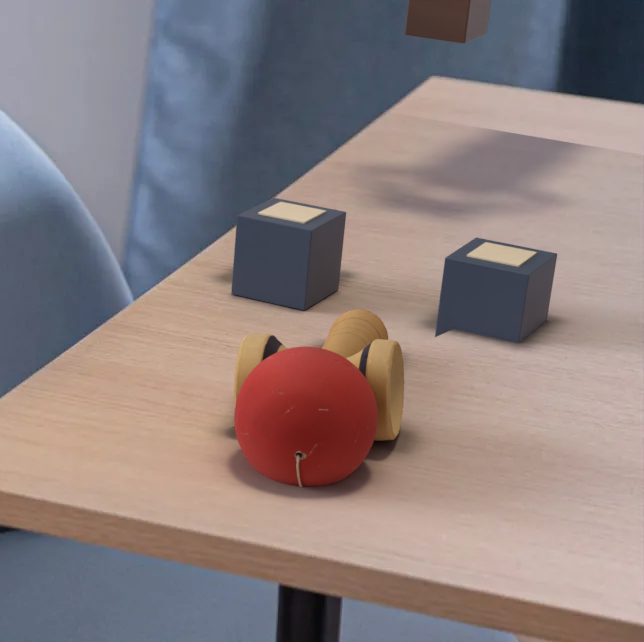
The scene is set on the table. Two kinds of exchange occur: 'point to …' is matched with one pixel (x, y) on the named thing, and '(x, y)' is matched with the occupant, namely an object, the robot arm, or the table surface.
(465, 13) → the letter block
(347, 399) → the kendama
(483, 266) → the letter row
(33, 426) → the table surface
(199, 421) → the table surface
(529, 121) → the table surface
